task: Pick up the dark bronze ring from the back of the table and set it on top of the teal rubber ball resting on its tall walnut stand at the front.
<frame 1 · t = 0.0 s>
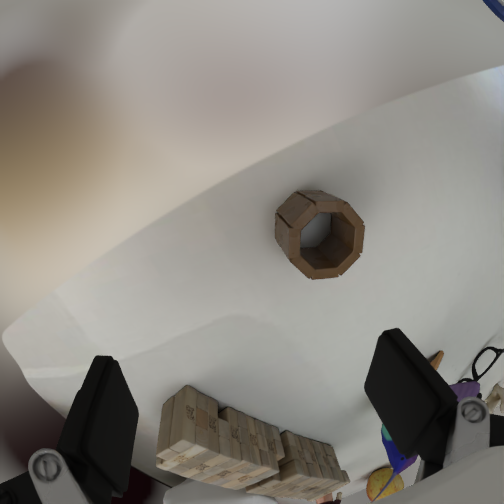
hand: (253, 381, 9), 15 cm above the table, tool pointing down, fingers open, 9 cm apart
bronze ring: (308, 224, 23), on the table
grandmother figurine: (316, 479, 43), on the table
glasses: (482, 368, 39), on the table
apple: (377, 471, 47), on the table
block tower: (257, 437, 33), on the table
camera: (216, 473, 37), on the table
bone: (492, 392, 46), on the table
decorative sculpture: (390, 385, 33), on the table
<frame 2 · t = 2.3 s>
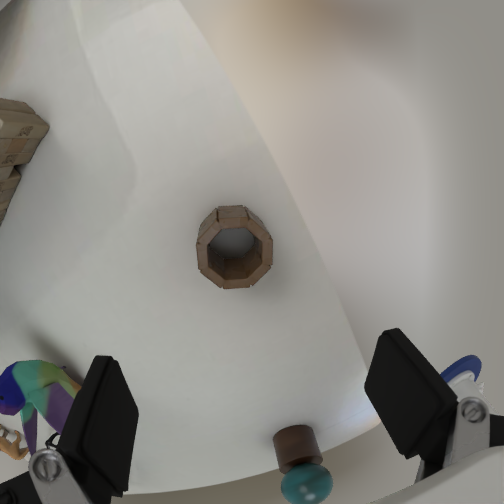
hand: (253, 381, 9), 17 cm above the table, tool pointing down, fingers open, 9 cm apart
bronze ring: (231, 236, 25), on the table
ball stand: (293, 435, 37), on the table
lion figurine: (12, 432, 34), on the table
decorative sculpture: (58, 358, 28), on the table
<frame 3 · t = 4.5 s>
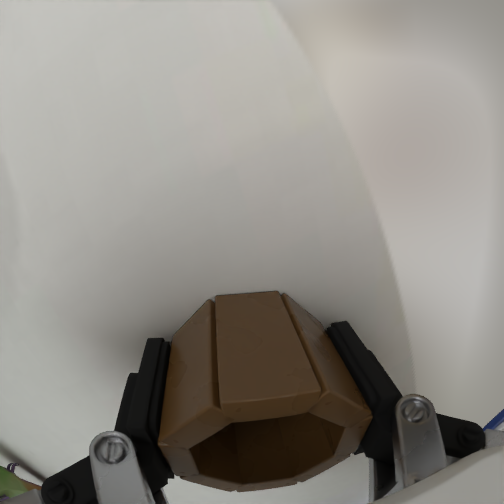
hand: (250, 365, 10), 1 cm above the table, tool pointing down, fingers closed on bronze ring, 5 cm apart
bronze ring: (249, 356, 10), on the table, touching gripper
decorative sculpture: (8, 452, 13), on the table
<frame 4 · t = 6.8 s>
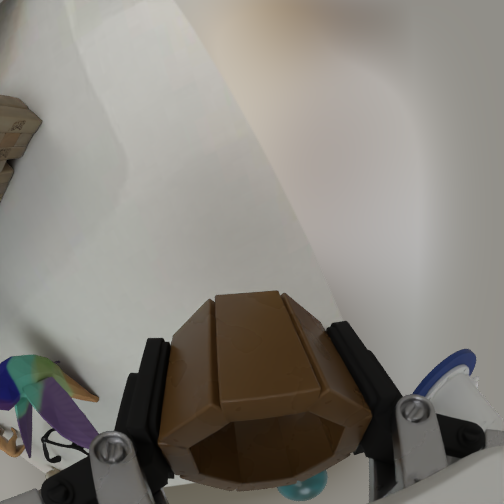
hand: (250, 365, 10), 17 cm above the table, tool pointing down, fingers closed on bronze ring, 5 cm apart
bronze ring: (249, 356, 10), point 16 cm above the table, touching gripper
glasses: (86, 452, 37), on the table
ball stand: (287, 429, 38), on the table
lion figurine: (8, 429, 34), on the table
bone: (64, 472, 41), on the table
decorative sculpture: (52, 353, 28), on the table
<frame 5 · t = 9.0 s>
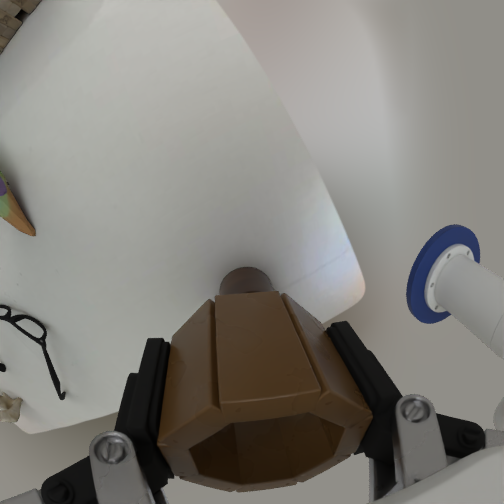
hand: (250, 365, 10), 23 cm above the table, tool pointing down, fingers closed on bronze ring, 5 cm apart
bronze ring: (249, 356, 10), point 23 cm above the table, touching gripper
glasses: (25, 348, 34), on the table
ball stand: (245, 290, 35), on the table
bone: (14, 400, 38), on the table
decorative sculpture: (5, 179, 25), on the table
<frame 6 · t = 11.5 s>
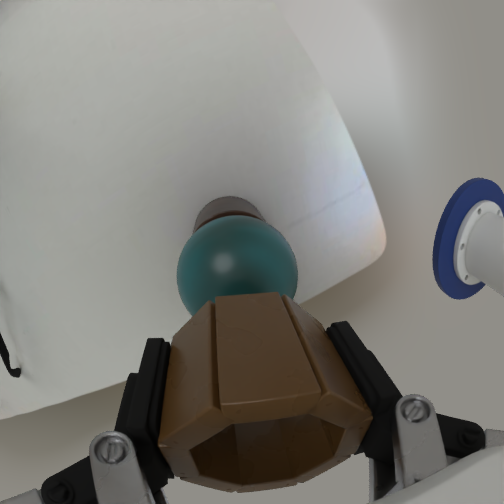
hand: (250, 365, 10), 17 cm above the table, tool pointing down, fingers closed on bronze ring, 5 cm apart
bronze ring: (249, 357, 10), point 17 cm above the table, touching gripper
ball stand: (229, 230, 26), on the table
when the fingers open (13 cm above the table, at t = 13.3 s): bronze ring stays where it is, resting on ball stand.
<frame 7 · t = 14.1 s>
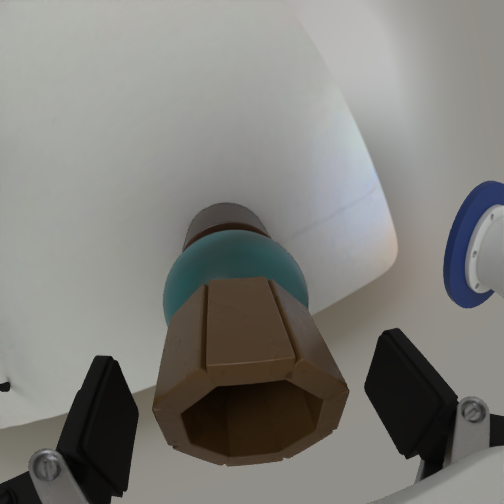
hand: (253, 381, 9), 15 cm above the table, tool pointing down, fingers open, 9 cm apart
bronze ring: (240, 338, 11), point 13 cm above the table, touching ball stand
ball stand: (226, 241, 23), on the table
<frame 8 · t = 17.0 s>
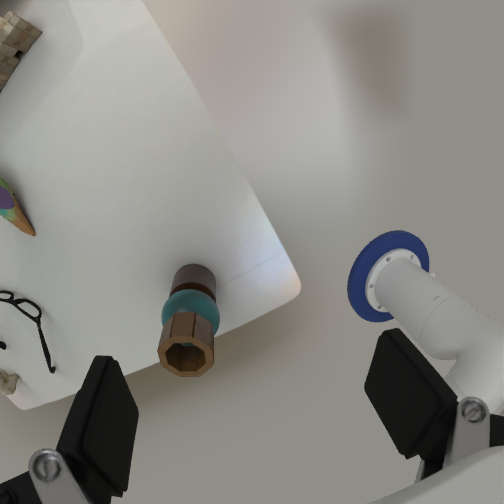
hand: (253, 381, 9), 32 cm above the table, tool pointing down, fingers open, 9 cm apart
bronze ring: (188, 332, 31), point 13 cm above the table, touching ball stand
glasses: (24, 328, 42), on the table
ball stand: (194, 283, 43), on the table
bone: (11, 376, 46), on the table
decorative sculpture: (11, 190, 33), on the table
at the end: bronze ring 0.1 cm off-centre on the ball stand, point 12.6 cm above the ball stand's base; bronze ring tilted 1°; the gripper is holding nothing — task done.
